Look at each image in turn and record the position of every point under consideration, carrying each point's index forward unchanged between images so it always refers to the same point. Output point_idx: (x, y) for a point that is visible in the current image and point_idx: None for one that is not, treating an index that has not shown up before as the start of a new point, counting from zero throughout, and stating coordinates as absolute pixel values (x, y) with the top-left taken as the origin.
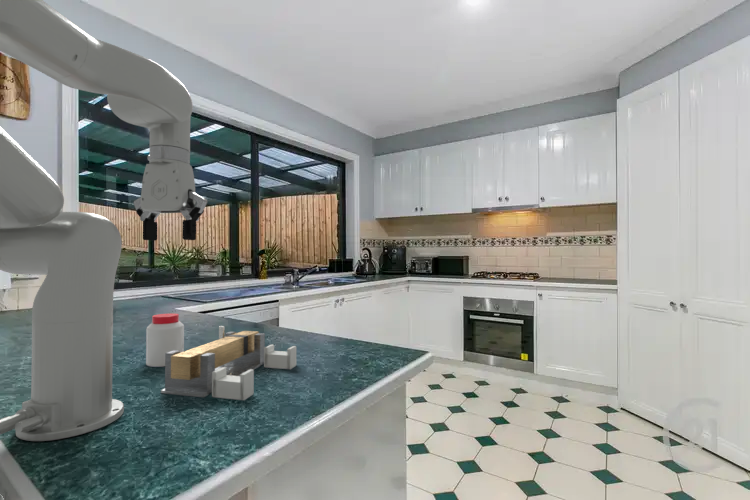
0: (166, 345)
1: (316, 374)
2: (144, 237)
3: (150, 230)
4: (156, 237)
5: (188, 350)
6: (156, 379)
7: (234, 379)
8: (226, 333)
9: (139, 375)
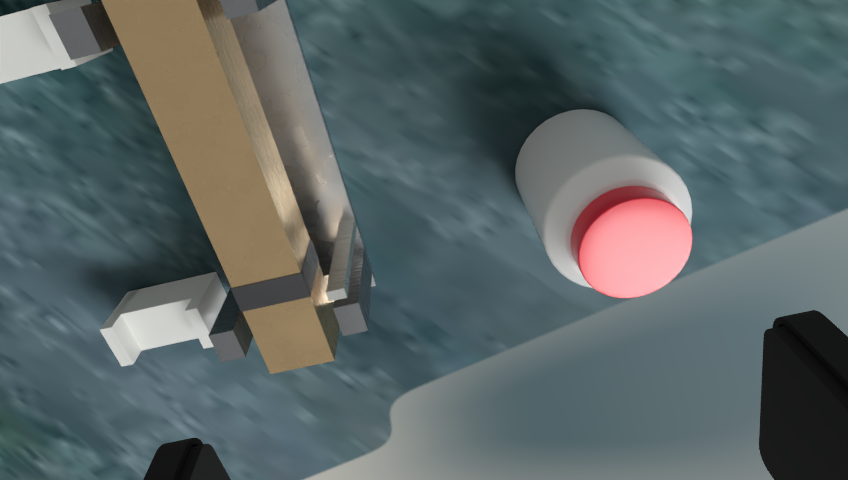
0: (542, 164)
1: (21, 290)
2: (799, 326)
3: (844, 476)
4: (775, 472)
5: (205, 41)
6: (417, 24)
7: (5, 42)
8: (352, 303)
9: (516, 24)
